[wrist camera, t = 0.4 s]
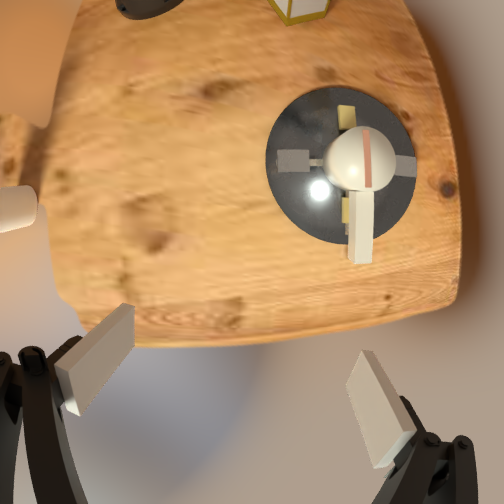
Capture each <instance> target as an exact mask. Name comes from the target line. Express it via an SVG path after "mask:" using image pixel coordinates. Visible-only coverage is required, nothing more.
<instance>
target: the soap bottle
mask: <svg viewBox="0 0 504 504" xmlns="http://www.w3.org/2000/svg"><path fill="white" fill-rule="evenodd" d="M267 1H268V2H269V3H270V5H271V6H272V7H273V9H274V10H275V11H276V13H277V14H278V15H279V17H280V18H281V19H282V21H283V22H284V24H285V25H286V26H290V25H294V24H298V23H302V22H307V21H311V20H316V19H320V18H324V17H325V15H326V12H327V9H328V6H329V3H330V1H331V0H267Z"/></svg>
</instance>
